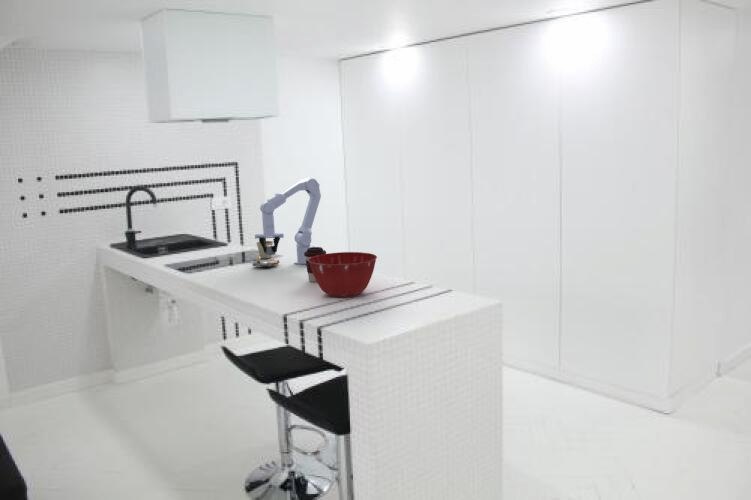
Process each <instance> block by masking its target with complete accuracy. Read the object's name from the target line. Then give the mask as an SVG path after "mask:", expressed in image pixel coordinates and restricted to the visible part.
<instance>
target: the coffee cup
mask: <svg viewBox="0 0 751 500" xmlns="http://www.w3.org/2000/svg"><path fill="white" fill-rule="evenodd" d="M322 254H327V250H324V248H323V247H320V246H314V247H312V248H308V249H307V251H306V252H304V256H306V264H305V265H306V272H307V277H308V281H309V282H311V283H317V281H316V279H315V277H314V275H313V272H312V270H311V267H310V263H309V262H308V259H309V258H311V257H314V256H317V255H322Z"/></svg>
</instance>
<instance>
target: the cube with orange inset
mask: <svg viewBox="0 0 751 500" xmlns="http://www.w3.org/2000/svg"><path fill="white" fill-rule="evenodd" d="M265 251H266V255H271V256H273V255H276V253H277V252H275V251H274V244H273V245H269V246H265Z"/></svg>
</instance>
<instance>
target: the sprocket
mask: <svg viewBox="0 0 751 500" xmlns="http://www.w3.org/2000/svg"><path fill="white" fill-rule="evenodd" d="M279 263H280V260H279V259H277V260H275V259H271V258H270V259H261V258H260V255H259V256H256V260H255V261H253V263H252V264H251V265H252V267H258V268H263V267H264V266H268V267H267V268H271V267H272V266H278V265H279ZM270 266H271V267H270Z"/></svg>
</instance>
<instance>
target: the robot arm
mask: <svg viewBox="0 0 751 500" xmlns="http://www.w3.org/2000/svg"><path fill="white" fill-rule="evenodd" d="M300 191H305V192H306V193H307V194H308V196H309V200H308V203H307V206H306V210H305V213H304V216H303V220H302V223H301V225H300V226H299V228H298V230H297V233H296V234H295V235H294V241H295V243H296V246H295V248H296V257H297V258H296V260H297V261H295V262H294V264H295V265H296V264H297V265H301V264H302V265H306V256H304V252H306V251H307V249H308V248H312V247H315V246H313V245H311V243H312V235H313V232H312V226H313V223H314V221H315V217H316V214H317V211H318V207H319V204H320V202H321V196H322V194H321V190H320V183H319V181H317V179H315V178H312V177H311V178H310V177H304V178H302V179H301V180H299V181H297V182H296V183H295V184H294V185H291V186H290V187H289V188H288V189H286V190H285V191H284V192H278V193H277V192H276V193H275V194H274V195H273V196H272V197H271V198H268V199H266V200H267V201H264V202H262V203H261V205H260V207H259V209H260V212H261V217H262V219H261V220H262V232H263V233H258V234H254V239H258V242H260V243H261V245H262V247H263V250H264V253H265V252H266V251H265V246H266V241H267V240H266V239H272V241H273V246H274V251H275V253H277V252H278V246H279V242H280V240H281V239H283V238H284V237H285V234H284V233H279V232H277V233H275V232H276V230H275V216H274V212H275V210H276V209H278V208H279V207H280V206H282V205H284V204H285V203H286V202H287V199H288V198H290V197H291V196H293V195H294V194H296V193H298V192H300Z"/></svg>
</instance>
